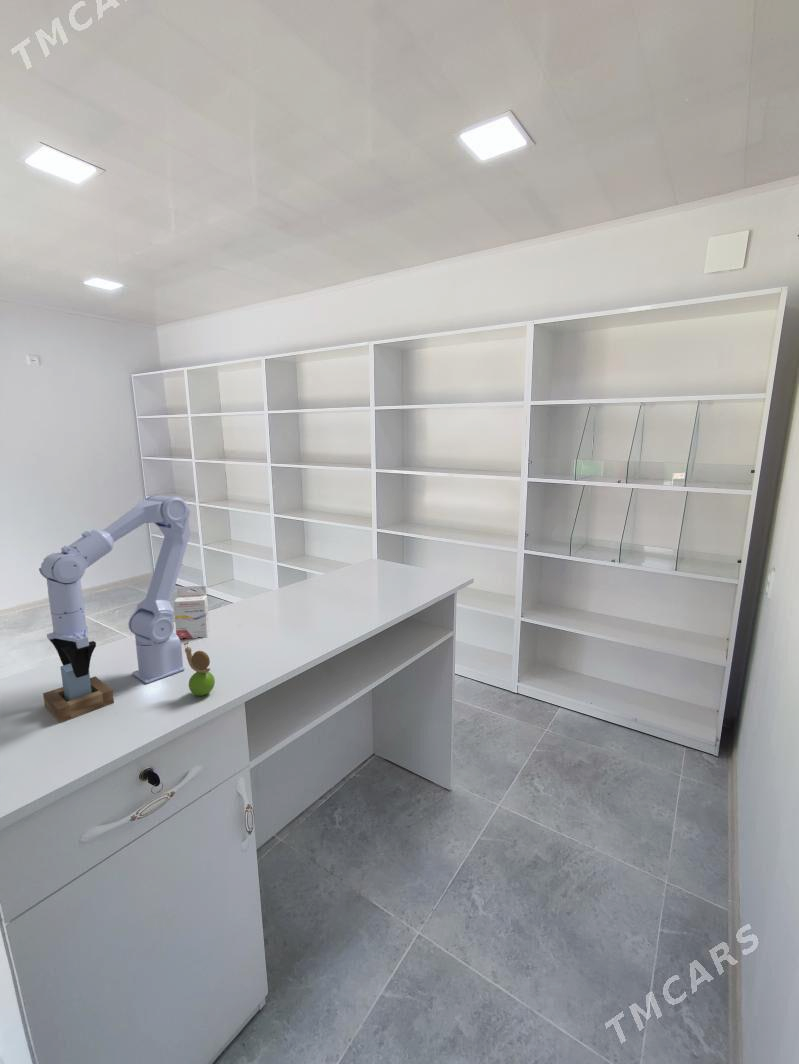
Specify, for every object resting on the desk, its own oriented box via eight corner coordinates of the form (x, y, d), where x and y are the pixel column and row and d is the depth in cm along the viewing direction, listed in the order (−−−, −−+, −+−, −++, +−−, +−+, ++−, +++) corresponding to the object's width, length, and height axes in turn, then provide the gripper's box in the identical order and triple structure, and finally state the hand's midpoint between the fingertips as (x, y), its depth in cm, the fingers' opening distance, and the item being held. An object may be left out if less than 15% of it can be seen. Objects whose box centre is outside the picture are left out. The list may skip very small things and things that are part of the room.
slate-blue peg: (86, 697, 105) (81, 660, 104) (93, 704, 103) (88, 665, 101) (65, 705, 102) (60, 666, 101) (71, 711, 100) (66, 672, 98)
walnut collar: (96, 688, 109) (95, 676, 109) (114, 702, 103) (112, 690, 103) (44, 706, 102) (43, 693, 101) (60, 722, 96) (58, 709, 95)
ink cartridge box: (176, 640, 137) (172, 591, 135) (179, 634, 142) (175, 586, 139) (207, 637, 139) (204, 589, 137) (210, 631, 144) (206, 584, 141)
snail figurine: (197, 686, 111) (193, 637, 108) (220, 690, 109) (217, 640, 107) (180, 697, 105) (176, 646, 103) (204, 702, 104) (200, 650, 102)
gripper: (34, 607, 100) (42, 667, 103) (56, 623, 91) (65, 688, 94) (72, 599, 106) (80, 656, 108) (97, 613, 97) (104, 675, 99)
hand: (75, 670), depth 101 cm, fingers open, 7 cm apart
